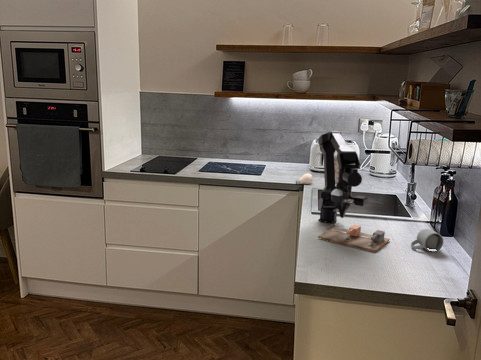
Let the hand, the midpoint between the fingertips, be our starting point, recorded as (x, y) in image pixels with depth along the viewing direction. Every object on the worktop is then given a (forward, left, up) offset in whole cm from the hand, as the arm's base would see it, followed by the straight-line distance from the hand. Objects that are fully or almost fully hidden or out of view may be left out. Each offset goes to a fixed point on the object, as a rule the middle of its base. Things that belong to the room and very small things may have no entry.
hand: (342, 217), depth 198 cm
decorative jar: (-39, +93, -8) cm, 101 cm away
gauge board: (+7, -3, -7) cm, 10 cm away
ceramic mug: (+33, +6, -8) cm, 34 cm away
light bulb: (-54, +70, -8) cm, 89 cm away
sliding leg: (+6, -2, -6) cm, 9 cm away
